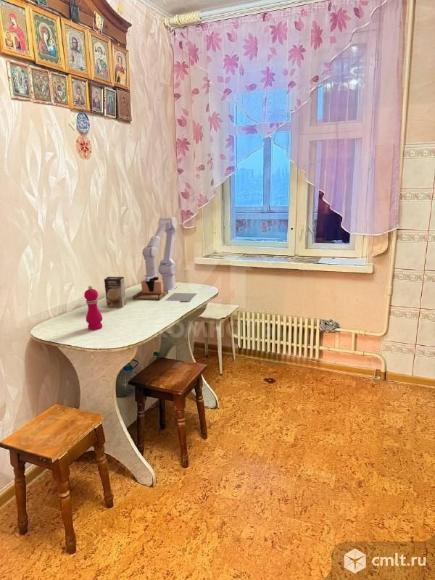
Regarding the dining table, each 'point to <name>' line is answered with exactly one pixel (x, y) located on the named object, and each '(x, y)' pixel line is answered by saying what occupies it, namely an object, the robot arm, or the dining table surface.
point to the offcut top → (149, 296)
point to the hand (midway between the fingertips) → (152, 290)
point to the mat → (181, 297)
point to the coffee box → (115, 292)
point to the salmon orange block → (157, 287)
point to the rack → (160, 295)
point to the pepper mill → (92, 309)
